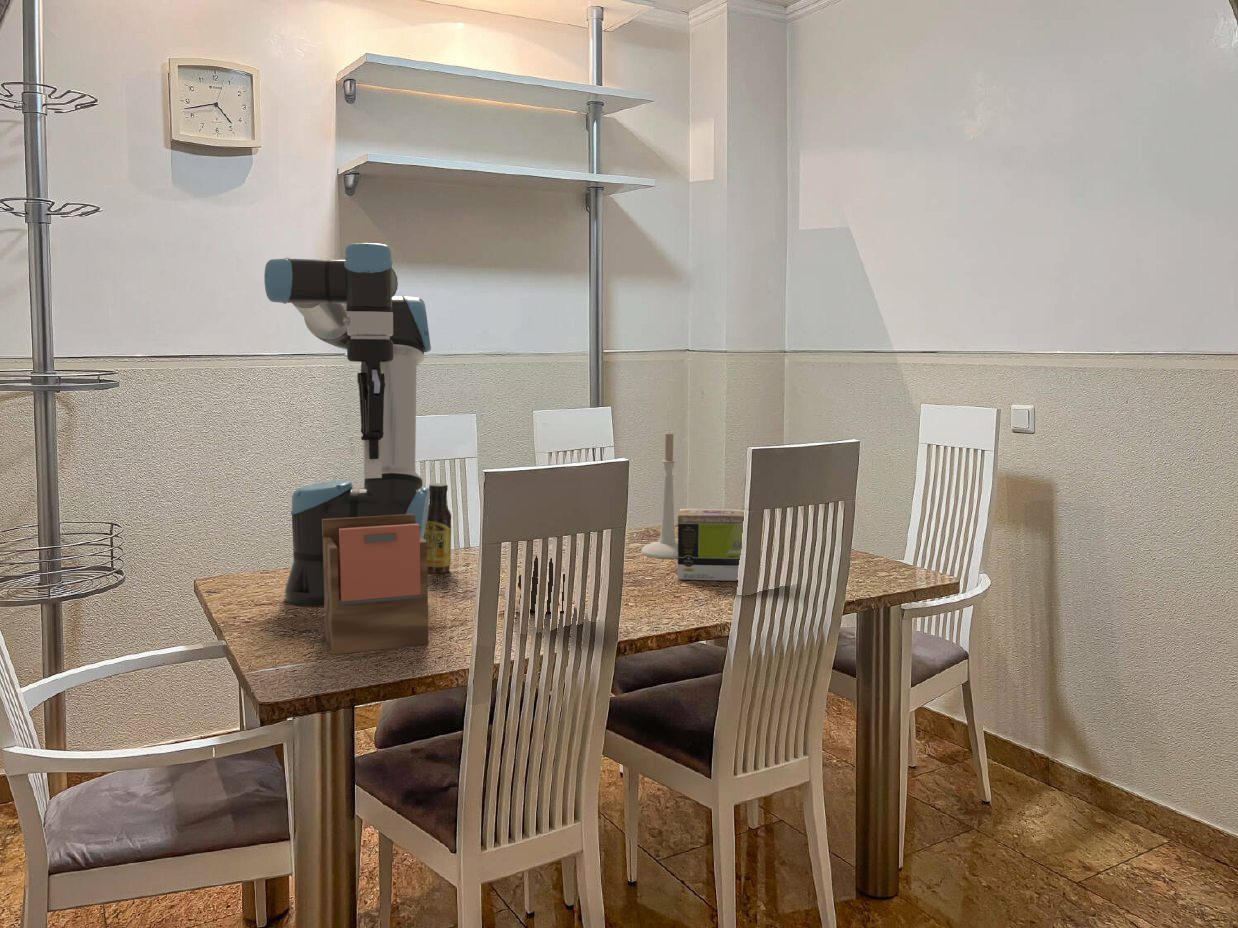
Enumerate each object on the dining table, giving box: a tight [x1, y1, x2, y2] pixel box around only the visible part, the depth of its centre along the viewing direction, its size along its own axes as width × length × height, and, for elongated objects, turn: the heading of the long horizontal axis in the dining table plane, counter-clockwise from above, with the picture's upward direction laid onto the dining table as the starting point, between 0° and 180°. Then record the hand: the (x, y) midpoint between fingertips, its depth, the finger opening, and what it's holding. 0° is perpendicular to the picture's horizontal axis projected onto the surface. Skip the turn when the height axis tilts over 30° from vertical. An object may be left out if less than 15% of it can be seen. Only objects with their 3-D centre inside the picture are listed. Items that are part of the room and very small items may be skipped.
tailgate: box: [339, 524, 422, 606], centre depth 169 cm, size 2×14×13 cm, turn 113°
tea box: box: [677, 507, 744, 582], centre depth 225 cm, size 15×10×15 cm, turn 84°
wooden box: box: [322, 514, 430, 655], centre depth 175 cm, size 11×16×21 cm
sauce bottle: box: [423, 482, 452, 575], centre depth 226 cm, size 7×6×20 cm
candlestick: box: [640, 432, 678, 560], centre depth 247 cm, size 13×13×30 cm
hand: (373, 477), depth 172 cm, fingers closed
